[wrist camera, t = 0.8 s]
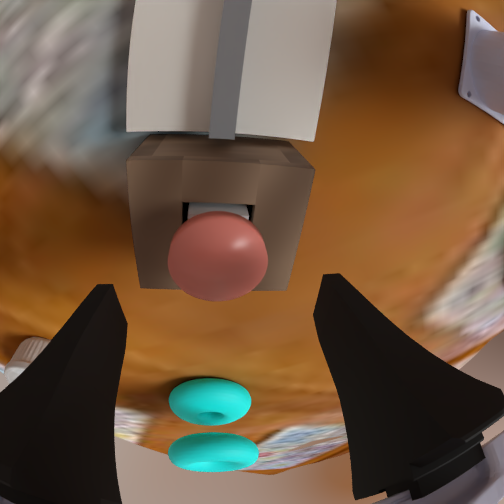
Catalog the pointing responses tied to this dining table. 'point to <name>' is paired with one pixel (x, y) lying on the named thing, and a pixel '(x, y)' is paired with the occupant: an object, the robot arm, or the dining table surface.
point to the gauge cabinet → (216, 196)
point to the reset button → (217, 252)
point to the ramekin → (24, 356)
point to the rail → (229, 66)
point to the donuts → (211, 413)
